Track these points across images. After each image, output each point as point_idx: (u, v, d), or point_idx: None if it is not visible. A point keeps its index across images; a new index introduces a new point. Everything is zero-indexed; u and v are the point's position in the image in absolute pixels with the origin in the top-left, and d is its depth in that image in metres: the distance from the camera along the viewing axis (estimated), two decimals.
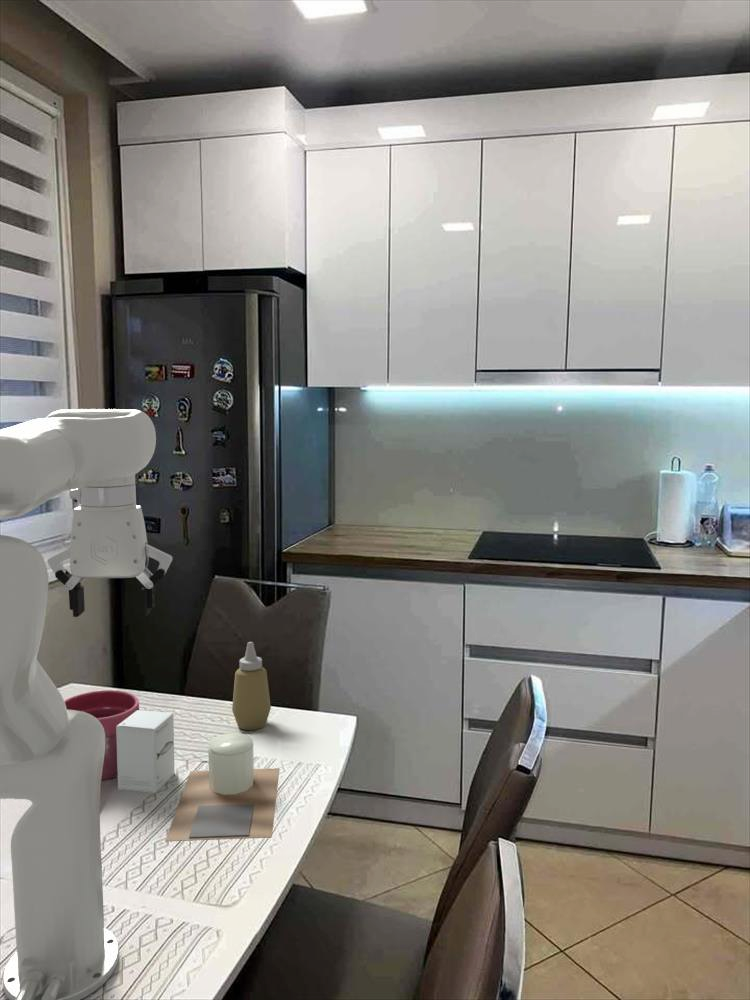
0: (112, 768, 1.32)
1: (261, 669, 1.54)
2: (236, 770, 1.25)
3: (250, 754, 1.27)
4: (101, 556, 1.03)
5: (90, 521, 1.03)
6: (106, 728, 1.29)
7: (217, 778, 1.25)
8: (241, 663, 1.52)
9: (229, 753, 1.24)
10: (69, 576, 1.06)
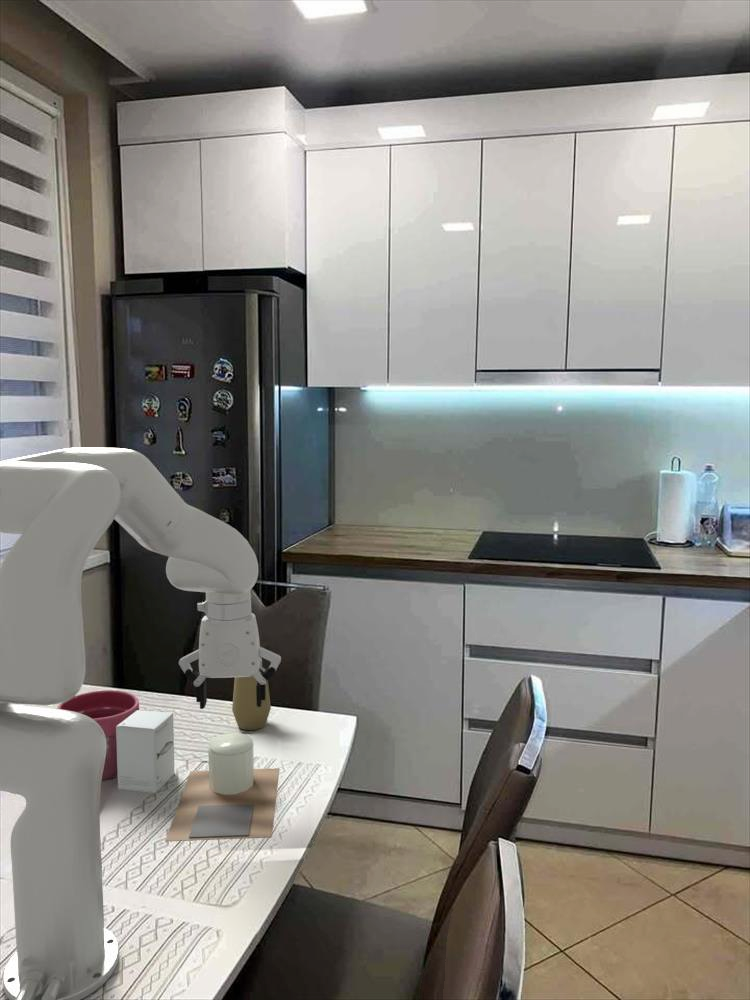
0: (112, 768, 1.32)
1: None
2: (236, 770, 1.25)
3: (250, 754, 1.27)
4: (225, 660, 1.24)
5: (216, 631, 1.23)
6: (106, 728, 1.29)
7: (217, 778, 1.25)
8: None
9: (229, 753, 1.24)
10: (196, 674, 1.26)
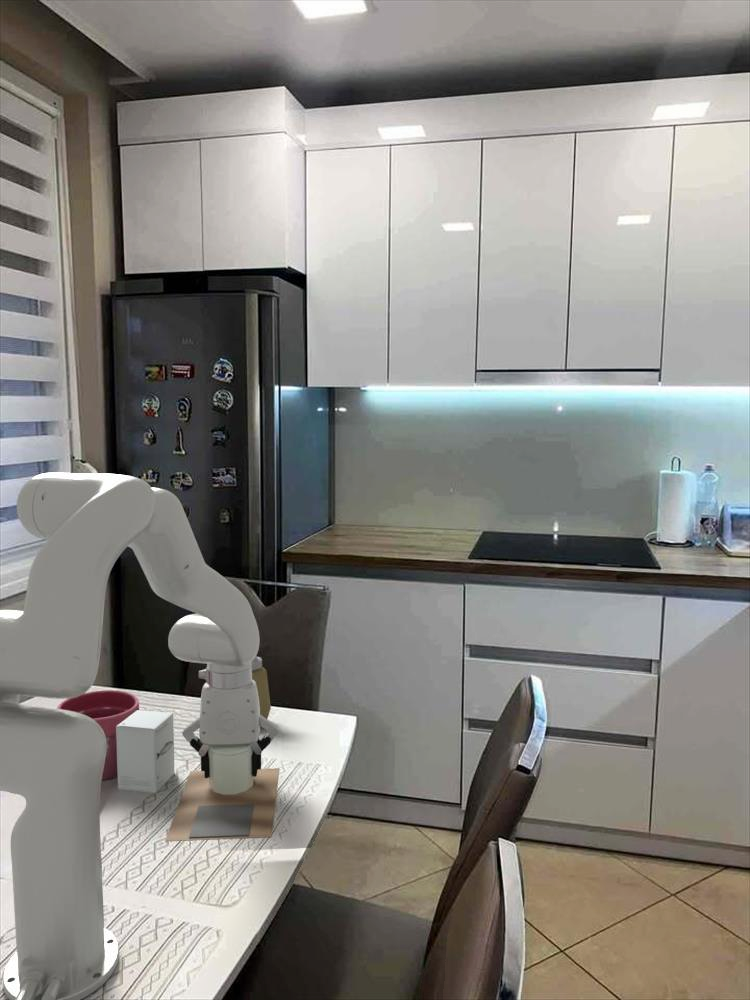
0: (112, 768, 1.32)
1: (261, 669, 1.54)
2: (236, 770, 1.25)
3: (250, 754, 1.27)
4: (225, 727, 1.25)
5: (217, 699, 1.24)
6: (106, 728, 1.29)
7: (217, 778, 1.25)
8: None
9: (229, 753, 1.24)
10: (201, 744, 1.27)
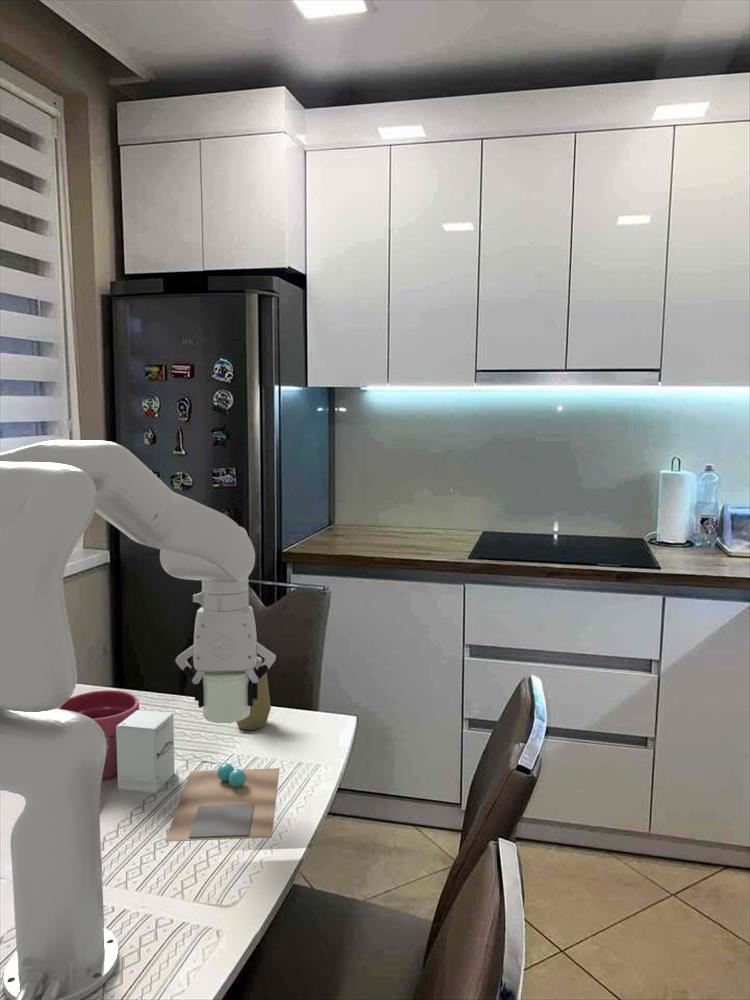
0: (112, 768, 1.32)
1: None
2: (231, 697, 1.19)
3: (246, 682, 1.22)
4: (220, 653, 1.19)
5: (212, 623, 1.19)
6: (106, 728, 1.29)
7: (212, 706, 1.20)
8: None
9: (224, 679, 1.19)
10: (195, 671, 1.22)
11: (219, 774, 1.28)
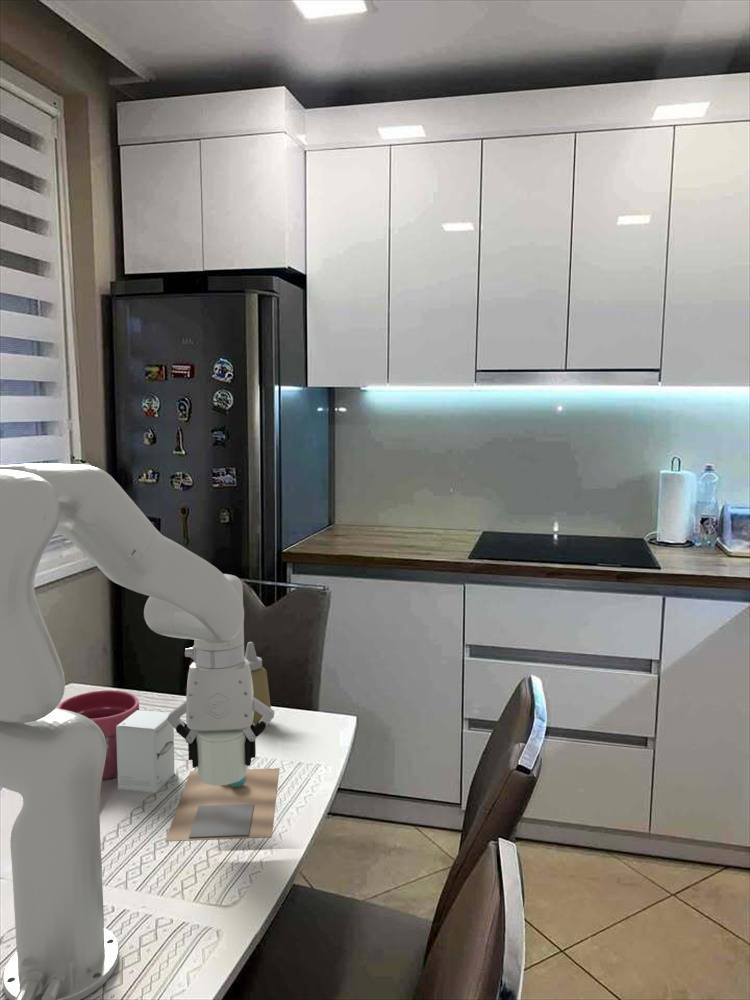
0: (112, 768, 1.32)
1: (261, 669, 1.54)
2: (227, 758, 1.12)
3: (243, 741, 1.14)
4: (215, 711, 1.12)
5: (206, 680, 1.11)
6: (106, 728, 1.29)
7: (206, 767, 1.13)
8: None
9: (219, 740, 1.12)
10: (188, 730, 1.15)
11: None
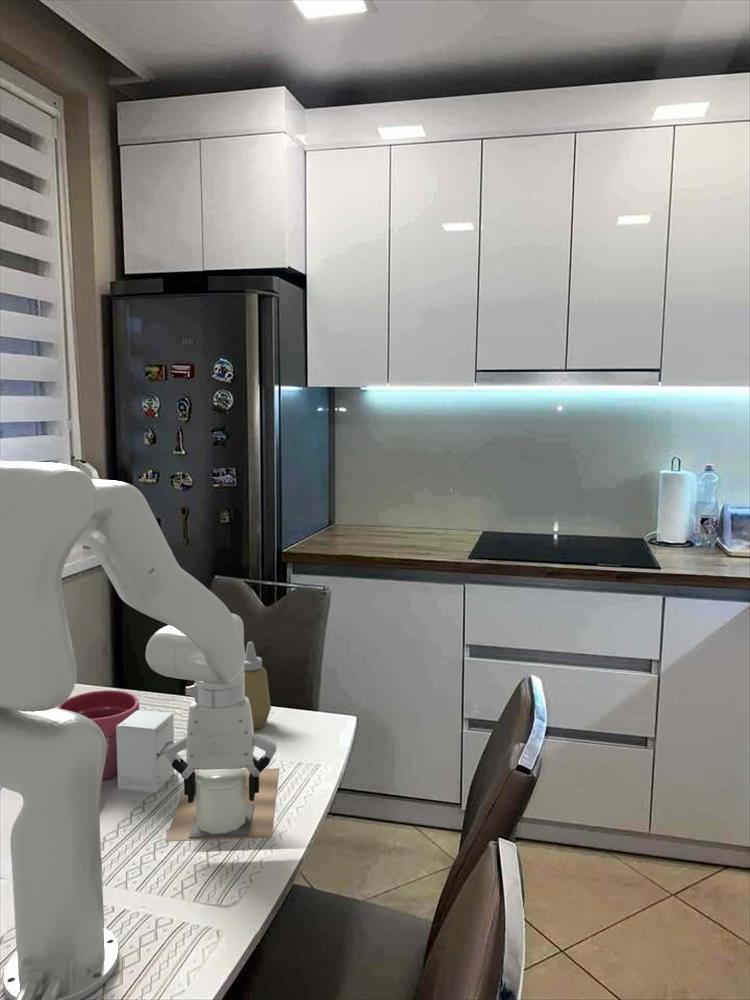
0: (112, 768, 1.32)
1: (261, 669, 1.54)
2: (226, 807, 1.13)
3: (242, 788, 1.15)
4: (215, 750, 1.12)
5: (206, 719, 1.12)
6: (106, 728, 1.29)
7: (205, 815, 1.13)
8: None
9: (218, 788, 1.12)
10: (184, 765, 1.15)
11: None
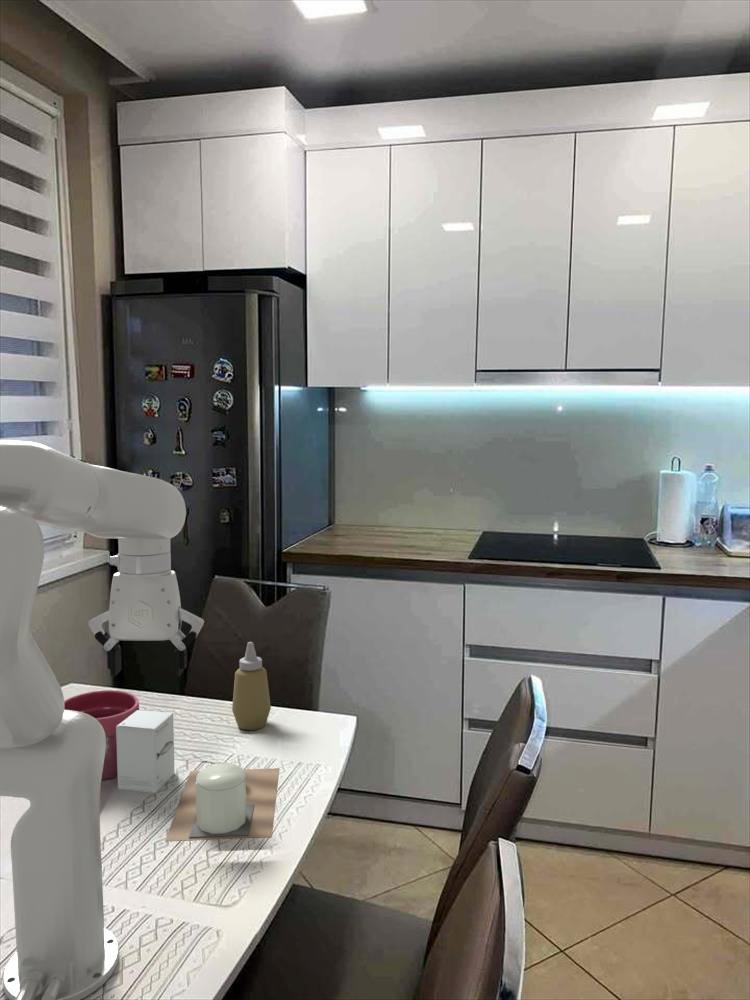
0: (112, 768, 1.32)
1: (261, 669, 1.54)
2: (226, 807, 1.13)
3: (242, 788, 1.15)
4: (137, 620, 1.10)
5: (128, 587, 1.09)
6: (106, 728, 1.29)
7: (205, 815, 1.13)
8: (241, 663, 1.52)
9: (218, 788, 1.12)
10: (108, 637, 1.12)
11: None
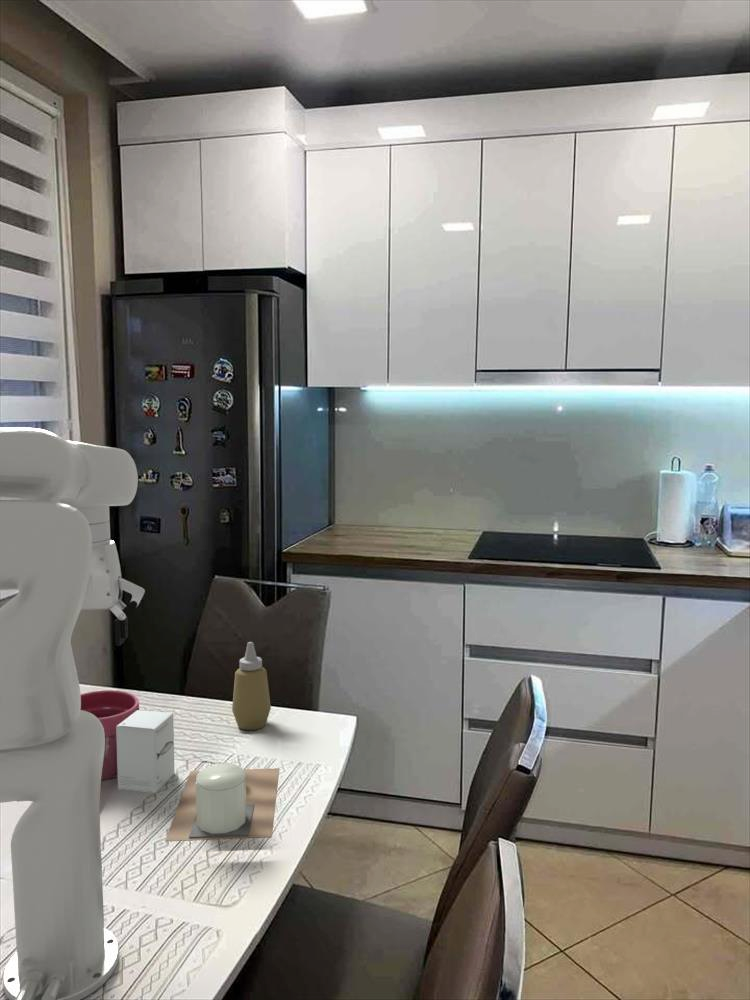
0: (112, 768, 1.32)
1: (261, 669, 1.54)
2: (226, 807, 1.13)
3: (242, 788, 1.15)
4: None
5: None
6: (106, 728, 1.29)
7: (205, 815, 1.13)
8: (241, 663, 1.52)
9: (218, 788, 1.12)
10: None
11: None
